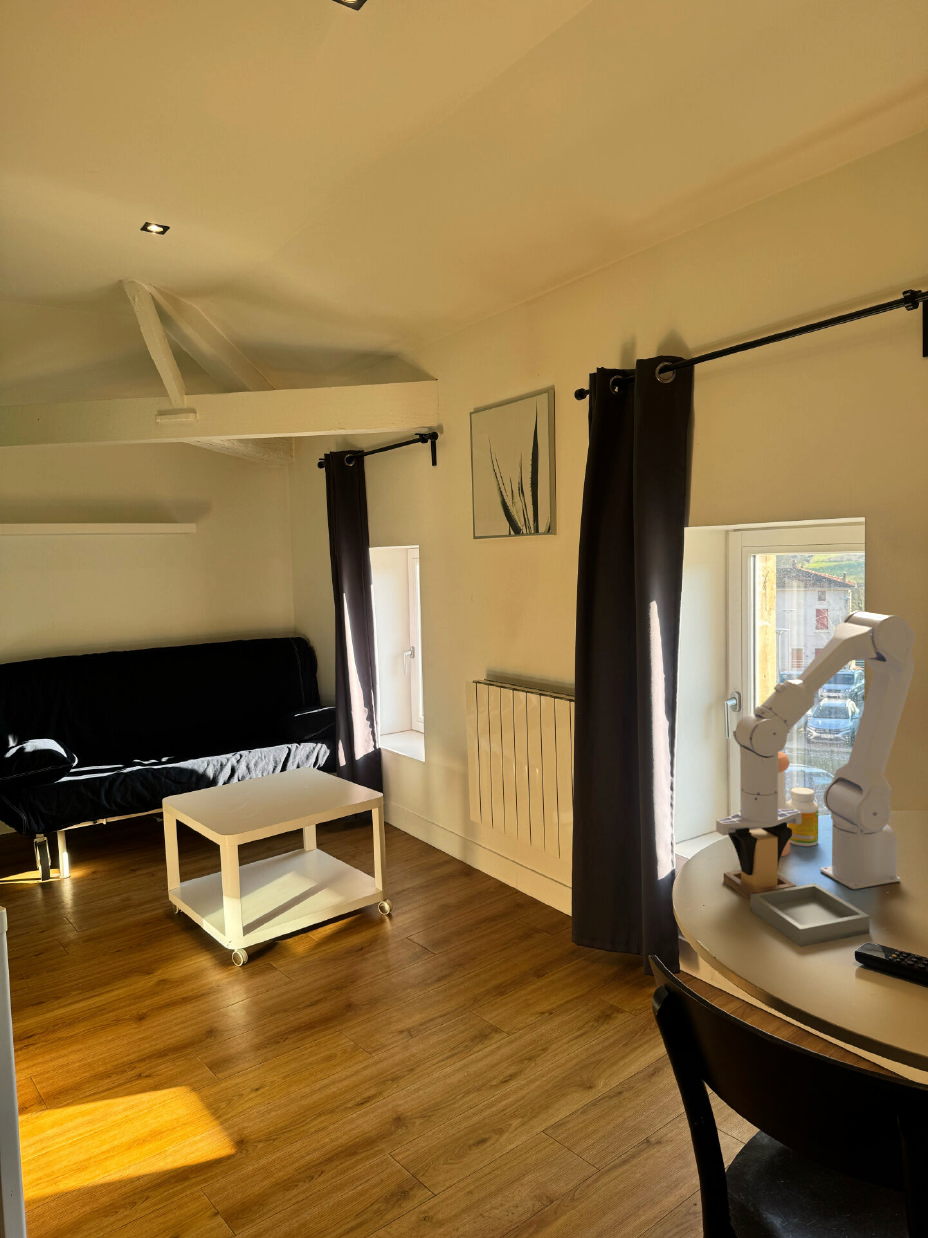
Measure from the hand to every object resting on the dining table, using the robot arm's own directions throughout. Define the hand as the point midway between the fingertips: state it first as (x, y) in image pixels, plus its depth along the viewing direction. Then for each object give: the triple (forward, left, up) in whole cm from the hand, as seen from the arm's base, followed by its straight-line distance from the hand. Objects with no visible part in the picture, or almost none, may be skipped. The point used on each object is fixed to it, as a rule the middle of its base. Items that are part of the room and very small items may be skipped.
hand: (759, 870), depth 133 cm
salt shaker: (-11, -13, -3) cm, 17 cm away
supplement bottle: (-19, -14, -3) cm, 24 cm away
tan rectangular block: (0, 0, -3) cm, 3 cm away
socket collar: (0, 0, -3) cm, 3 cm away
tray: (0, +12, -3) cm, 12 cm away
